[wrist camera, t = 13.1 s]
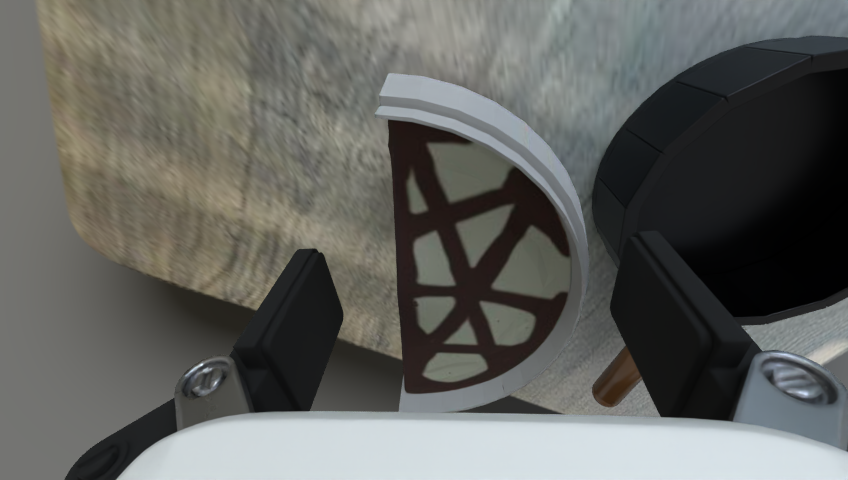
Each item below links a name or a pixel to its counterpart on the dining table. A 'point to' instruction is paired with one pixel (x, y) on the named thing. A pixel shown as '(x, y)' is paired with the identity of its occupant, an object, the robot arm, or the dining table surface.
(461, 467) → the robot arm
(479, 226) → the food container
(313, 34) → the dining table surface
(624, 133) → the pan
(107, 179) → the dining table surface
